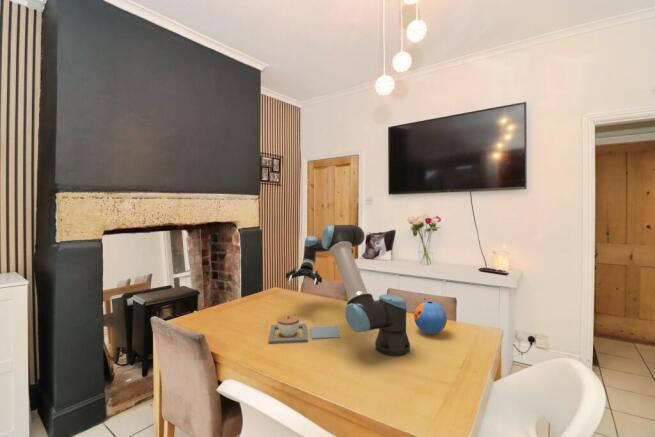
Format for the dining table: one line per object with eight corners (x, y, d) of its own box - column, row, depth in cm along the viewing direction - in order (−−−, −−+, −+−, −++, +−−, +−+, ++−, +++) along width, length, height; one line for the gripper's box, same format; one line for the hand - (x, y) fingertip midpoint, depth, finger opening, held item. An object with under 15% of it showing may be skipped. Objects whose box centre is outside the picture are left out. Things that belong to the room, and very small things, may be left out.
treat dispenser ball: (449, 340, 149) (449, 308, 148) (415, 337, 152) (415, 306, 151) (443, 328, 164) (444, 298, 164) (413, 325, 167) (413, 297, 167)
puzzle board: (307, 342, 148) (307, 339, 148) (268, 343, 146) (268, 341, 146) (306, 325, 167) (306, 323, 167) (271, 327, 166) (271, 325, 165)
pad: (340, 337, 152) (340, 336, 152) (311, 339, 151) (311, 338, 151) (336, 326, 166) (336, 325, 166) (310, 327, 165) (310, 327, 165)
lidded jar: (301, 330, 161) (301, 312, 161) (297, 339, 151) (297, 319, 150) (280, 329, 162) (280, 311, 162) (275, 338, 152) (274, 319, 151)
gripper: (327, 276, 189) (324, 293, 169) (285, 270, 190) (277, 287, 170) (328, 264, 187) (325, 281, 167) (286, 259, 188) (278, 275, 168)
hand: (301, 284), depth 168 cm, fingers open, 13 cm apart
